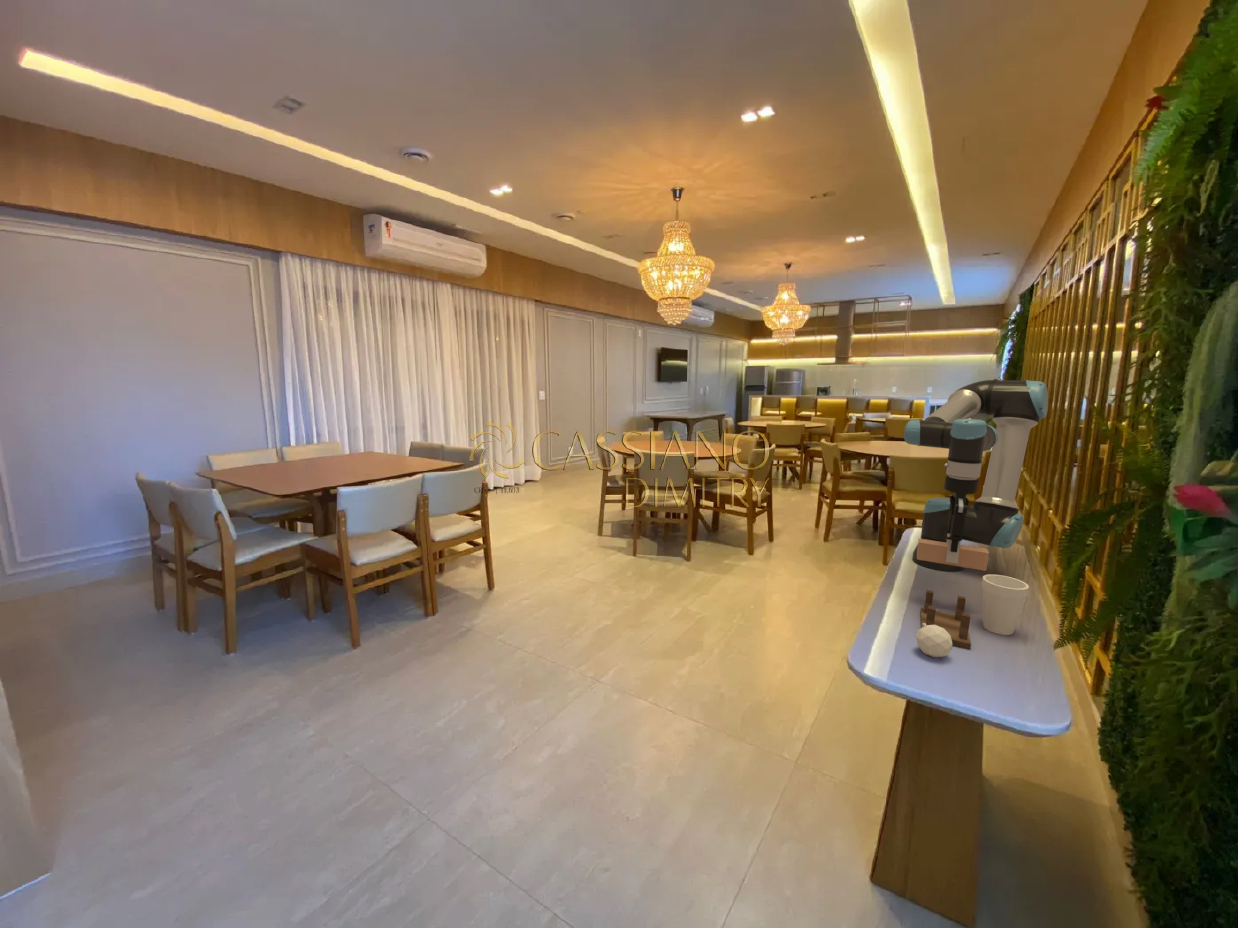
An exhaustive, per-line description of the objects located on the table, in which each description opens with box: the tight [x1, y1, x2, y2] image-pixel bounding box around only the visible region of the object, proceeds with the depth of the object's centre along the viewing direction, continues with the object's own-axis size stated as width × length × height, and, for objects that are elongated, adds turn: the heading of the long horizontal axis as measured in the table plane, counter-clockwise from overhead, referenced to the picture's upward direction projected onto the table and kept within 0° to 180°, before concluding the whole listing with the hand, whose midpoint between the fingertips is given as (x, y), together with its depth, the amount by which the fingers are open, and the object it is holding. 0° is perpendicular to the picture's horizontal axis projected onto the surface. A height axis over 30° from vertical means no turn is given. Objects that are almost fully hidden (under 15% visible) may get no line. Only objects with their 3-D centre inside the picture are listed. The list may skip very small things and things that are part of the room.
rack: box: [919, 589, 972, 651], centre depth 128 cm, size 16×10×8 cm, turn 150°
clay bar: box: [917, 538, 990, 572], centre depth 138 cm, size 16×4×5 cm, turn 60°
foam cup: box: [981, 574, 1030, 636], centre depth 128 cm, size 10×9×13 cm
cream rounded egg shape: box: [915, 623, 953, 658], centre depth 117 cm, size 7×7×8 cm
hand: (951, 559), depth 138 cm, fingers closed on clay bar, 4 cm apart
